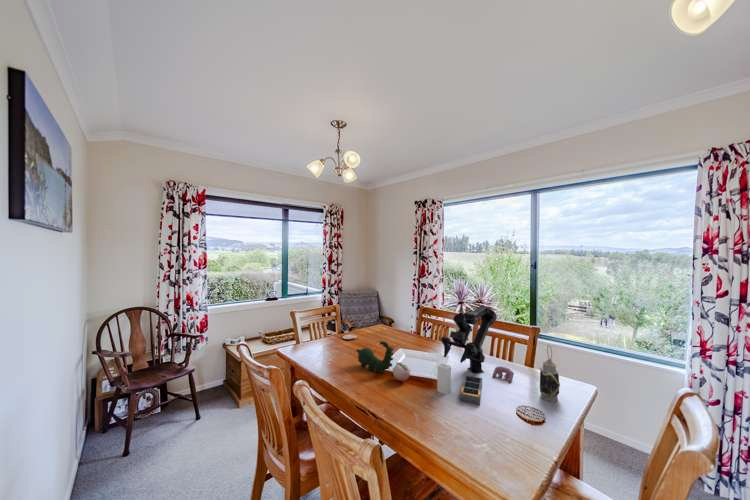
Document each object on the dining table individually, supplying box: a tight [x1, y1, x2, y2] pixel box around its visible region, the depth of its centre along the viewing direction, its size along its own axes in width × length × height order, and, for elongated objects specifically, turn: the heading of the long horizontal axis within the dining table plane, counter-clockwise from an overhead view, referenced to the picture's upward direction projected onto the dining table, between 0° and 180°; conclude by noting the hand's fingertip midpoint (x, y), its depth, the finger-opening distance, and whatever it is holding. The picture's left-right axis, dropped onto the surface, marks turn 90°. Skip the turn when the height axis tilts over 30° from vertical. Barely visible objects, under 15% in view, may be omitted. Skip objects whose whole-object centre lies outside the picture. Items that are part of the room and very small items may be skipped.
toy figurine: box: [355, 340, 394, 374], centre depth 163 cm, size 9×19×25 cm
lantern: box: [539, 344, 561, 403], centre depth 132 cm, size 9×8×25 cm
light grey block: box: [436, 363, 452, 396], centre depth 138 cm, size 4×5×12 cm
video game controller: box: [492, 365, 515, 383], centre depth 152 cm, size 10×5×7 cm, turn 47°
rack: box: [459, 374, 483, 406], centre depth 137 cm, size 20×8×4 cm, turn 157°
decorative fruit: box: [392, 361, 411, 382], centre depth 148 cm, size 9×8×10 cm
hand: (452, 359), depth 143 cm, fingers open, 9 cm apart
